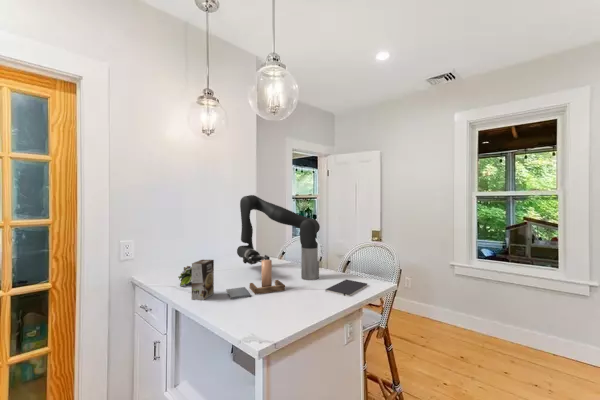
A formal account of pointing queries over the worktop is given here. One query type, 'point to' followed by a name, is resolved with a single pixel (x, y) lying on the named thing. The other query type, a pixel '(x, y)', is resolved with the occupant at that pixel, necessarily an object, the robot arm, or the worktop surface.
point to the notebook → (346, 287)
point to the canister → (266, 273)
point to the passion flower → (186, 275)
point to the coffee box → (202, 279)
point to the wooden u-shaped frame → (268, 288)
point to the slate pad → (238, 293)
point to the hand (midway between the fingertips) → (259, 262)
